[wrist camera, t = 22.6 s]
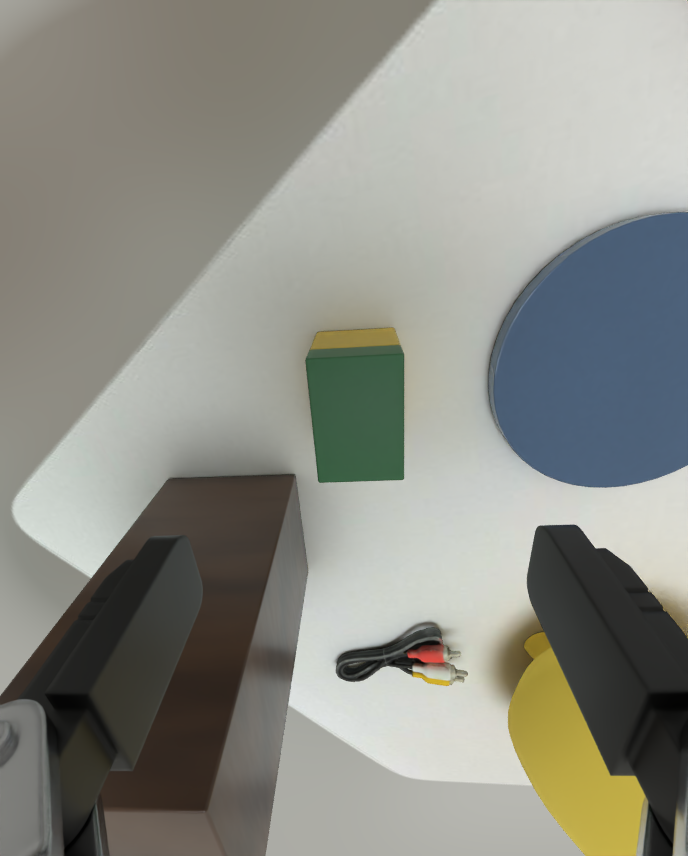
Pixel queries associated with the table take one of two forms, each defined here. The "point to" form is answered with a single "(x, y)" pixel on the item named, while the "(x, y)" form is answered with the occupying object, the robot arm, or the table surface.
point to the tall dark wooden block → (211, 671)
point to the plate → (600, 358)
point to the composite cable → (406, 660)
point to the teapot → (570, 760)
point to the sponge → (357, 404)
